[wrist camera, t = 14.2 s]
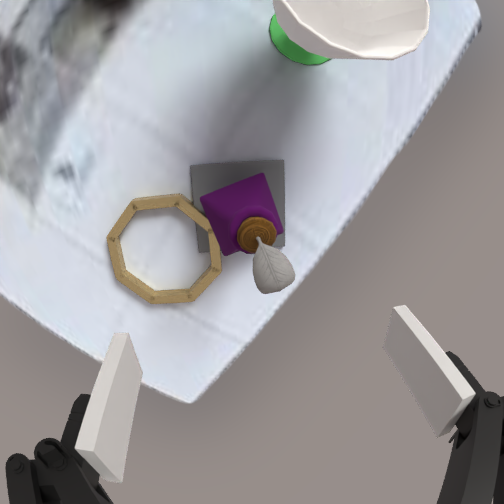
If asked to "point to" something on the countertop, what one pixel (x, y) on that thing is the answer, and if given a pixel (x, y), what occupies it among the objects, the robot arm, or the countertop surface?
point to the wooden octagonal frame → (138, 285)
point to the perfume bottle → (250, 229)
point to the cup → (348, 29)
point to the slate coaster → (228, 173)
